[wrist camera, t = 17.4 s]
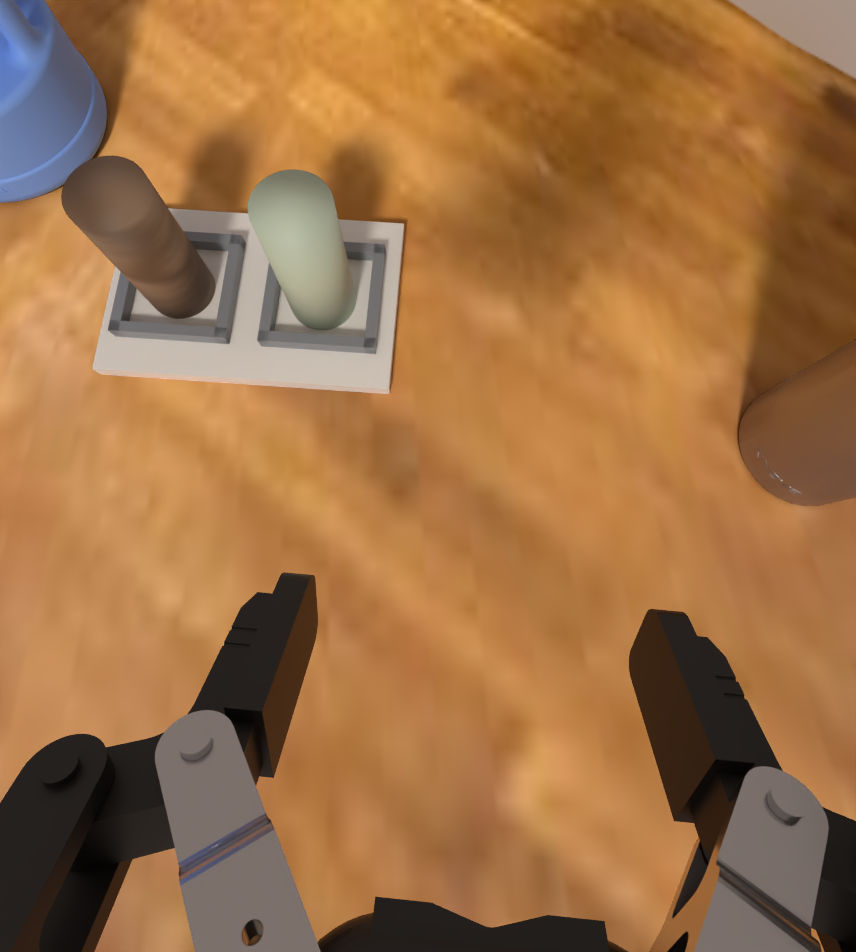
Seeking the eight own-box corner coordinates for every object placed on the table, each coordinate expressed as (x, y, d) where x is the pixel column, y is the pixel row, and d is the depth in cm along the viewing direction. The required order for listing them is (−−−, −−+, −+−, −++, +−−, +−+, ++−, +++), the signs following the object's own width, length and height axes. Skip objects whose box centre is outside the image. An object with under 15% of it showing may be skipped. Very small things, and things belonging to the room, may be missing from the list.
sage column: (333, 260, 41) (305, 155, 31) (368, 308, 40) (350, 216, 30) (278, 292, 40) (231, 196, 30) (312, 342, 39) (276, 259, 30)
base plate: (404, 232, 43) (403, 214, 41) (389, 394, 40) (387, 383, 38) (135, 214, 43) (121, 196, 41) (100, 374, 40) (83, 363, 38)
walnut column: (194, 249, 41) (122, 141, 31) (227, 295, 40) (164, 200, 30) (137, 282, 40) (46, 183, 31) (170, 330, 39) (87, 245, 30)
